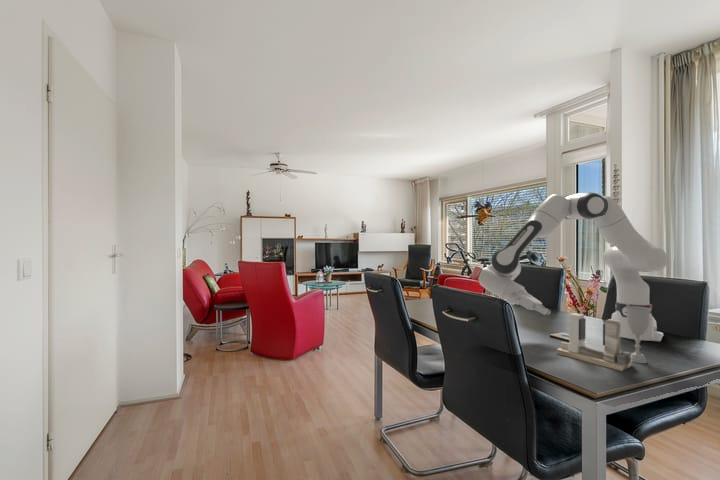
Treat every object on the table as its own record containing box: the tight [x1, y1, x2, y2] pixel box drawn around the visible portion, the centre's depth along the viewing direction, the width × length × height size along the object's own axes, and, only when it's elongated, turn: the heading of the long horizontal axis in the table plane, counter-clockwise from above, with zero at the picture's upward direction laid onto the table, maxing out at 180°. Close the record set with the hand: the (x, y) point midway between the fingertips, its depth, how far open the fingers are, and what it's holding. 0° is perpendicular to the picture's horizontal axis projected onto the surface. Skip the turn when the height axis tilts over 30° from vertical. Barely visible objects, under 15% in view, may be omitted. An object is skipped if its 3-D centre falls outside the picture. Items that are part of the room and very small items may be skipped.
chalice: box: [625, 306, 652, 364], centre depth 119 cm, size 7×7×18 cm
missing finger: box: [567, 312, 587, 353], centre depth 123 cm, size 6×4×13 cm, turn 124°
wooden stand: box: [555, 318, 633, 372], centre depth 119 cm, size 8×20×14 cm, turn 34°
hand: (548, 313), depth 136 cm, fingers open, 8 cm apart
